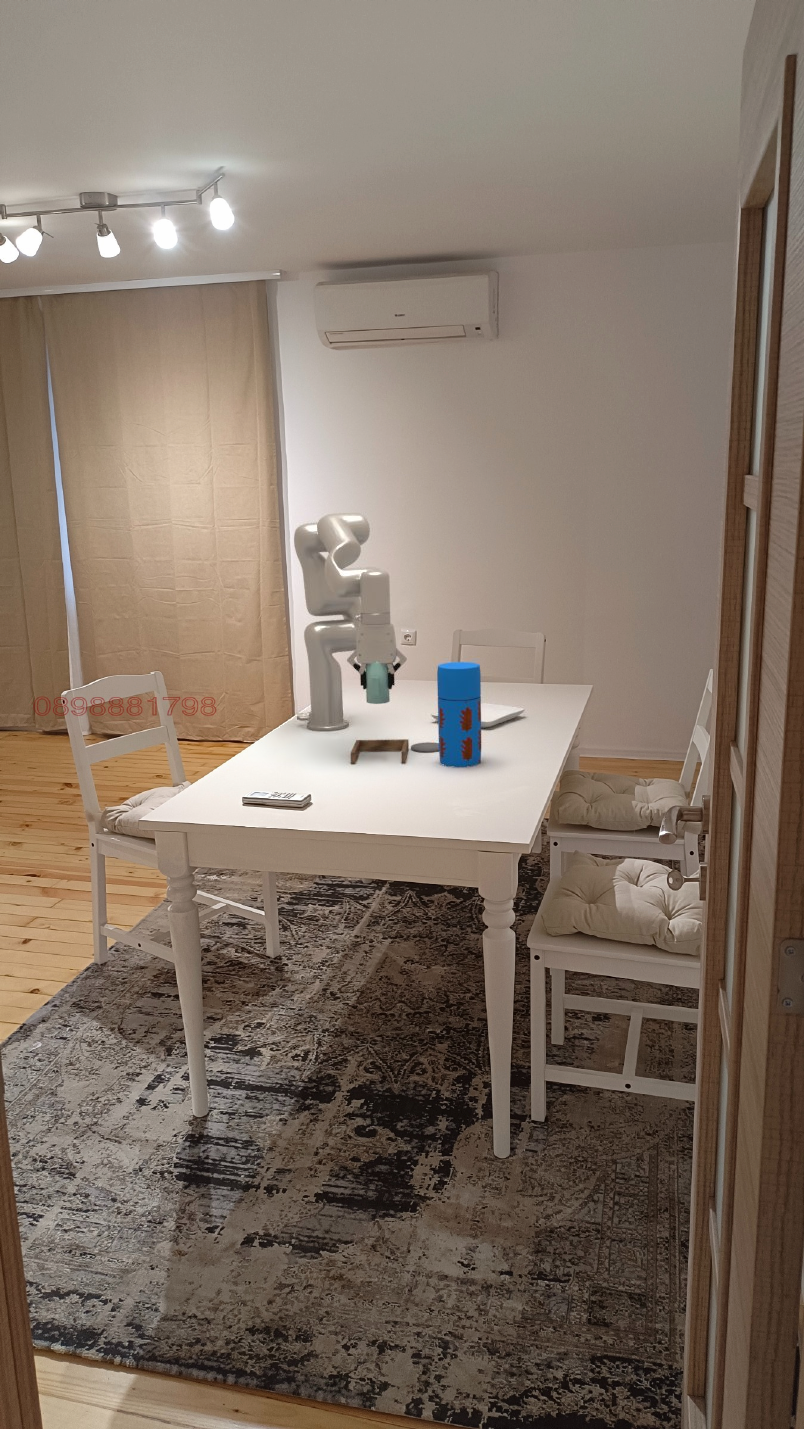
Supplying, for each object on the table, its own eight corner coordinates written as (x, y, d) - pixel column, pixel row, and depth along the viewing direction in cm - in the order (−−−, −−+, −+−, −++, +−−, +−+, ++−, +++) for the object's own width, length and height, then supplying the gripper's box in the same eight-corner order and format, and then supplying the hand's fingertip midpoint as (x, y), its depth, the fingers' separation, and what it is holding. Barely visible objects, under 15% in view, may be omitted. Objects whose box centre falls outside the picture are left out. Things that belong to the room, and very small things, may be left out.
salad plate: (489, 732, 297) (489, 720, 296) (429, 724, 310) (429, 713, 309) (526, 718, 313) (526, 707, 313) (468, 711, 326) (468, 700, 325)
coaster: (409, 752, 275) (409, 750, 274) (411, 744, 283) (411, 742, 283) (443, 752, 274) (443, 750, 274) (444, 744, 283) (444, 742, 283)
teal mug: (367, 699, 272) (366, 657, 269) (390, 698, 271) (389, 657, 269) (364, 705, 263) (363, 663, 261) (388, 705, 263) (386, 663, 261)
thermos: (486, 757, 267) (485, 662, 262) (475, 768, 257) (474, 669, 252) (446, 755, 271) (444, 661, 265) (433, 766, 261) (431, 668, 255)
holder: (351, 764, 265) (350, 752, 264) (356, 750, 278) (356, 739, 278) (405, 763, 264) (405, 752, 263) (408, 750, 278) (408, 739, 277)
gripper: (340, 621, 261) (342, 691, 265) (408, 620, 259) (410, 691, 263) (343, 617, 268) (346, 685, 272) (410, 616, 267) (411, 685, 271)
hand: (377, 687), depth 268 cm, fingers closed on teal mug, 6 cm apart
